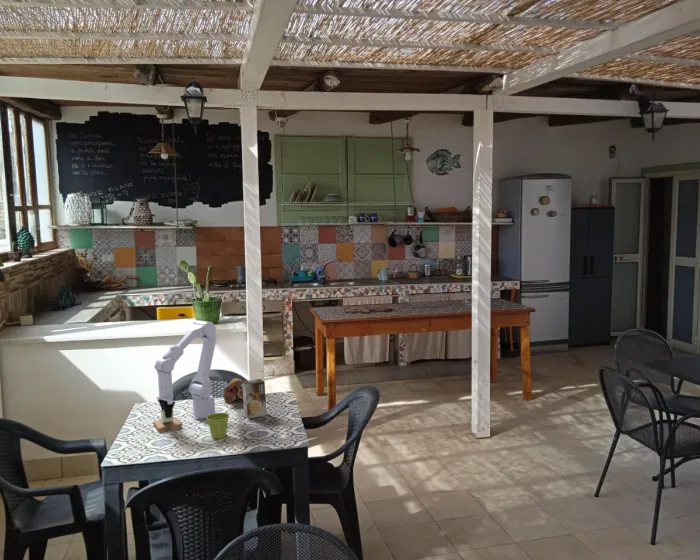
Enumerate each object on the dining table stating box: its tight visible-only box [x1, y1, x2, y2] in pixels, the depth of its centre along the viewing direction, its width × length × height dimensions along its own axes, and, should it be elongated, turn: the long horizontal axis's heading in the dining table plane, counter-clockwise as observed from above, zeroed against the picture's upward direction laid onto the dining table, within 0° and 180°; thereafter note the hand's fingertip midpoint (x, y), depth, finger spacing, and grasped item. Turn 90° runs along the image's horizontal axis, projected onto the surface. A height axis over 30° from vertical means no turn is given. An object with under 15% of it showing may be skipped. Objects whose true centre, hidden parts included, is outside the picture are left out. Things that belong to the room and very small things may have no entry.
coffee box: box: [241, 378, 267, 419], centre depth 281 cm, size 9×6×16 cm
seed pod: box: [221, 377, 243, 403], centre depth 305 cm, size 13×16×15 cm
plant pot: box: [205, 412, 230, 439], centre depth 255 cm, size 9×9×9 cm
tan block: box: [153, 417, 183, 433], centre depth 268 cm, size 10×10×2 cm
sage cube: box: [160, 409, 175, 423], centre depth 268 cm, size 4×4×4 cm
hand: (167, 416), depth 268 cm, fingers closed on sage cube, 4 cm apart
